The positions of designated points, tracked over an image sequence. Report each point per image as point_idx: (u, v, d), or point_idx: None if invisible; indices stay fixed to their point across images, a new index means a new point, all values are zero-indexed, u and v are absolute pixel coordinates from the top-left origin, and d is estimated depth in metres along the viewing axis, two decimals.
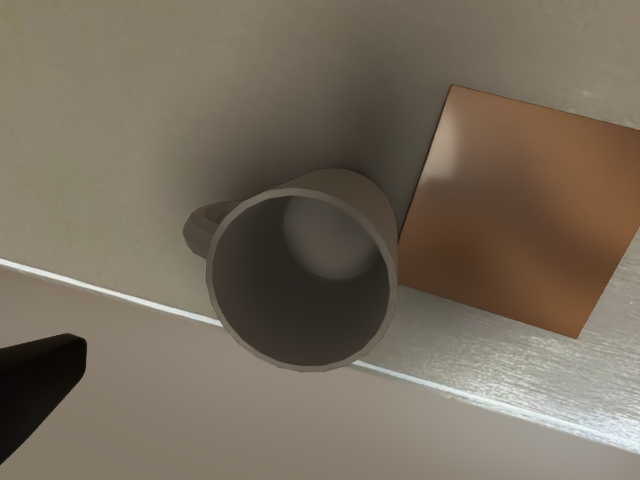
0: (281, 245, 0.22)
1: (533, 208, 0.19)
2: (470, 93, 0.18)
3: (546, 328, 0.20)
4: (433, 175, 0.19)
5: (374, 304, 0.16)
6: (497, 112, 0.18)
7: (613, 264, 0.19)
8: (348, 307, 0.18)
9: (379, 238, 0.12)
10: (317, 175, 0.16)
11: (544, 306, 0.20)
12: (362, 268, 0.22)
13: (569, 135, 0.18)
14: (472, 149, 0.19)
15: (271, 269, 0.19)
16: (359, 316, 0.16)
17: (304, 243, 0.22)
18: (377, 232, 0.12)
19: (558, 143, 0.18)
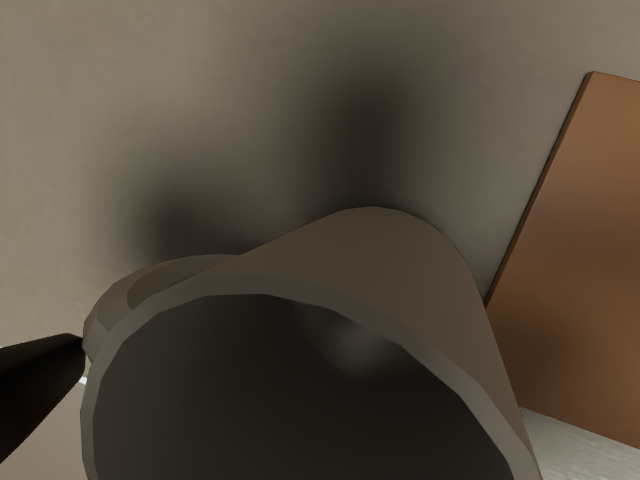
0: (287, 322, 0.14)
1: None
2: (627, 86, 0.10)
3: None
4: (546, 224, 0.12)
5: None
6: None
7: None
8: (393, 464, 0.10)
9: (514, 444, 0.04)
10: (344, 225, 0.08)
11: None
12: (416, 369, 0.13)
13: None
14: (621, 183, 0.11)
15: (262, 372, 0.12)
16: None
17: (323, 320, 0.14)
18: (509, 427, 0.04)
19: None
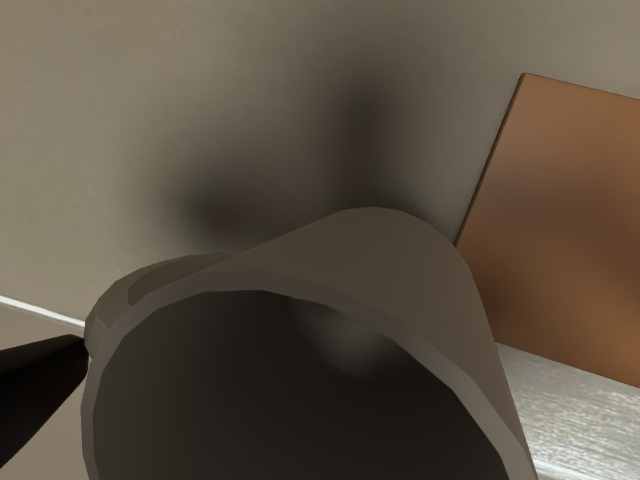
0: (287, 321, 0.14)
1: (627, 235, 0.15)
2: (550, 84, 0.14)
3: (634, 384, 0.16)
4: (494, 191, 0.15)
5: None
6: (586, 110, 0.14)
7: None
8: (392, 463, 0.10)
9: (507, 439, 0.04)
10: (343, 224, 0.08)
11: (633, 357, 0.16)
12: (415, 369, 0.13)
13: None
14: (548, 158, 0.14)
15: (262, 371, 0.12)
16: None
17: (323, 320, 0.14)
18: (502, 422, 0.04)
19: None
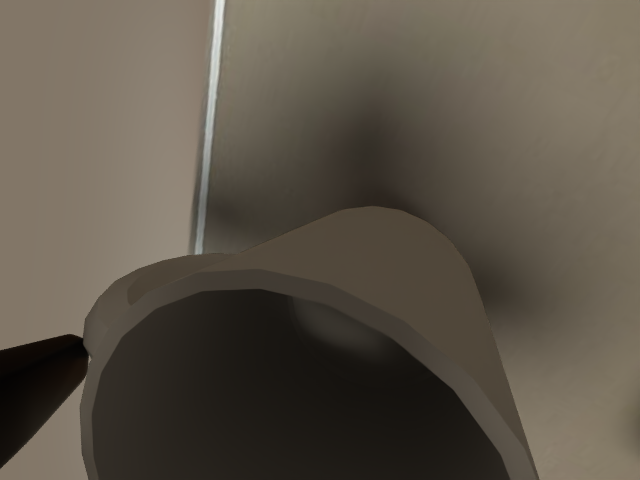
0: (287, 321, 0.14)
1: None
2: None
3: None
4: None
5: None
6: None
7: None
8: (392, 463, 0.10)
9: (508, 439, 0.04)
10: (343, 223, 0.08)
11: None
12: (416, 369, 0.13)
13: None
14: None
15: (261, 371, 0.12)
16: None
17: (323, 320, 0.14)
18: (503, 421, 0.04)
19: None
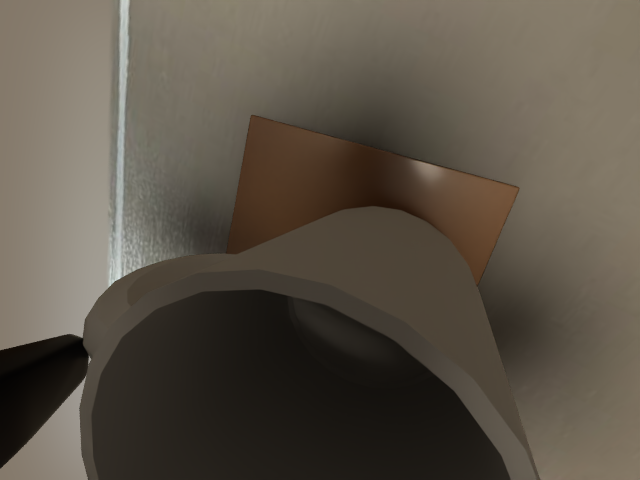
0: (287, 321, 0.14)
1: None
2: (504, 211, 0.14)
3: None
4: (399, 172, 0.14)
5: None
6: (474, 244, 0.15)
7: None
8: (392, 464, 0.10)
9: (508, 439, 0.04)
10: (343, 223, 0.08)
11: None
12: (416, 369, 0.13)
13: None
14: (430, 217, 0.15)
15: (261, 371, 0.12)
16: None
17: (323, 320, 0.14)
18: (504, 422, 0.04)
19: None
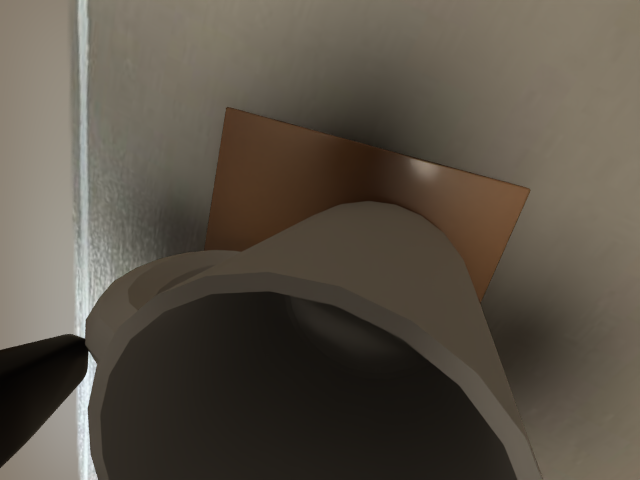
0: (285, 316, 0.14)
1: None
2: (512, 216, 0.12)
3: None
4: (393, 171, 0.13)
5: None
6: (479, 253, 0.13)
7: None
8: (391, 452, 0.10)
9: (511, 430, 0.04)
10: (342, 220, 0.08)
11: None
12: (411, 360, 0.14)
13: None
14: None
15: (261, 365, 0.12)
16: None
17: (320, 313, 0.14)
18: (506, 414, 0.04)
19: None
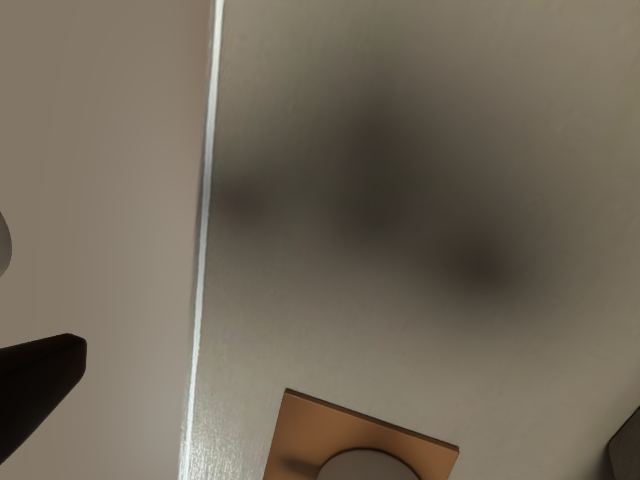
0: None
1: None
2: (450, 464, 0.22)
3: None
4: (382, 435, 0.22)
5: None
6: (433, 479, 0.22)
7: None
8: None
9: None
10: None
11: None
12: None
13: None
14: (404, 462, 0.22)
15: None
16: None
17: None
18: None
19: None
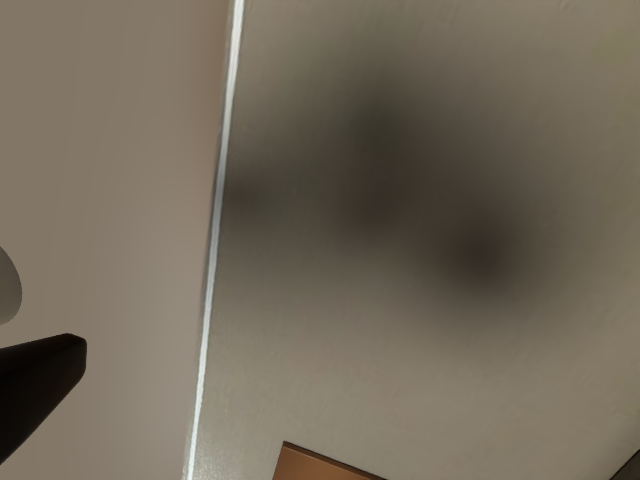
0: None
1: None
2: None
3: None
4: None
5: None
6: None
7: None
8: None
9: None
10: None
11: None
12: None
13: None
14: None
15: None
16: None
17: None
18: None
19: None
